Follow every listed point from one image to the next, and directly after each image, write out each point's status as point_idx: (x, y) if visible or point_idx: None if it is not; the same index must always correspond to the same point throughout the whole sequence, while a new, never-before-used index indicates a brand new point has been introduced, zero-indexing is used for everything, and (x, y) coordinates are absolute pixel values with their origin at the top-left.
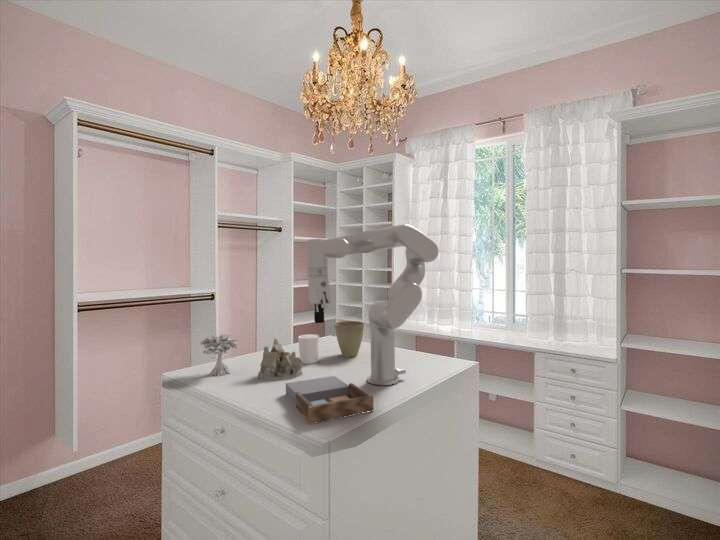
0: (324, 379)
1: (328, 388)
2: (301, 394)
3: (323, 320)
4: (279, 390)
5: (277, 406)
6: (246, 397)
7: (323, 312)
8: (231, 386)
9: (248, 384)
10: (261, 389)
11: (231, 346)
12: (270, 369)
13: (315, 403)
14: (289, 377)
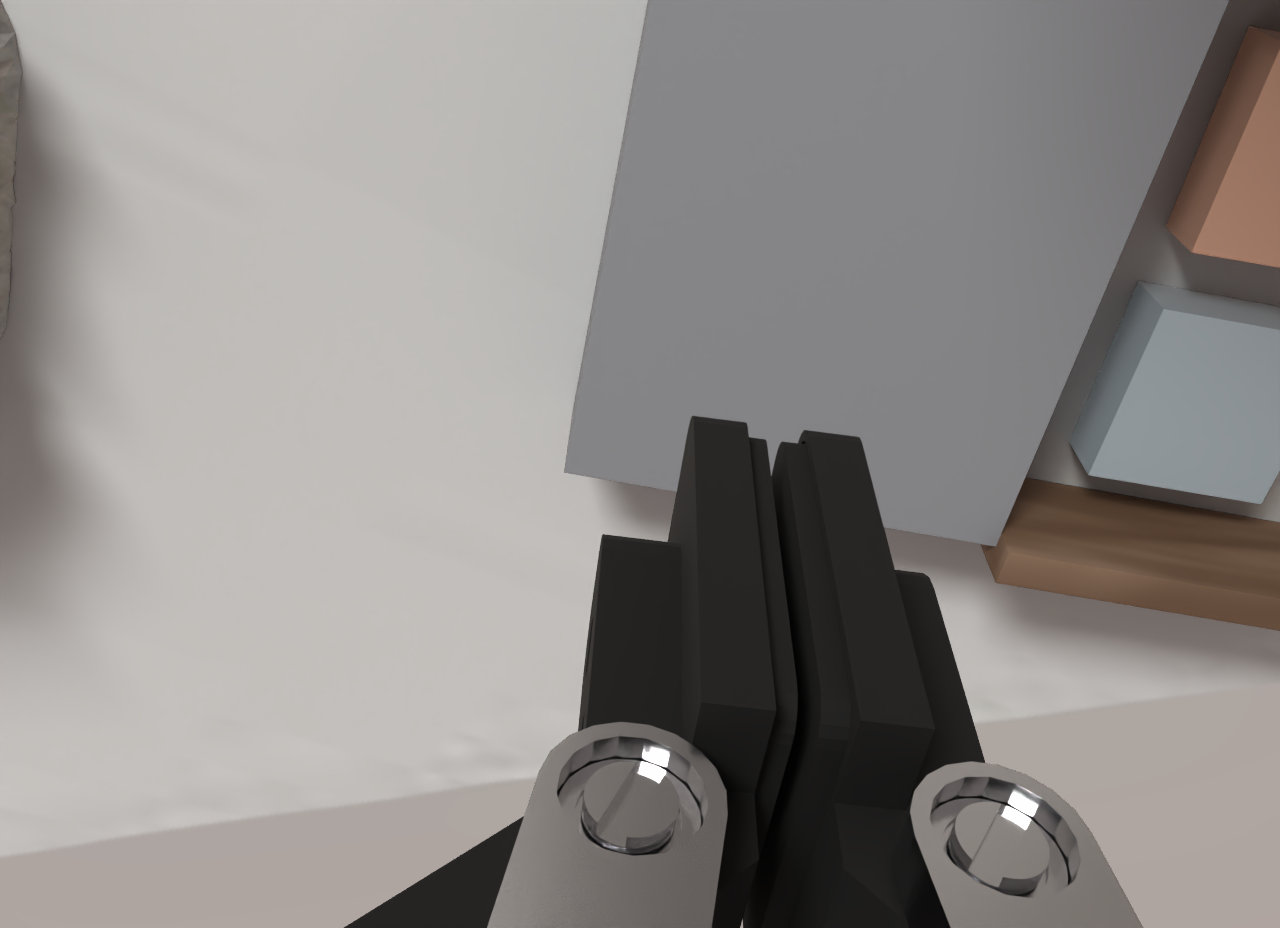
0: (748, 25)
1: (1093, 196)
2: (1096, 571)
3: (858, 489)
4: (416, 406)
5: None
6: (435, 684)
7: (921, 714)
8: (48, 676)
9: (53, 552)
10: (283, 520)
11: None
12: None
13: (1181, 430)
14: (5, 113)
